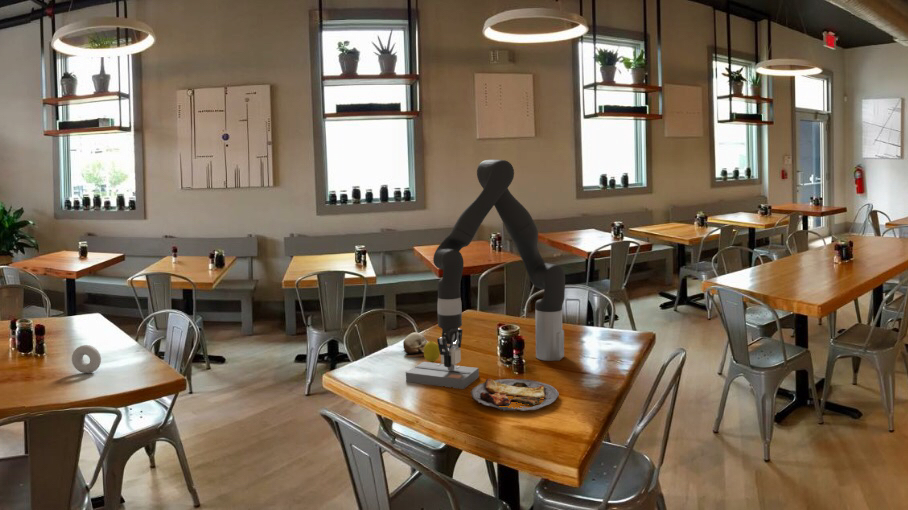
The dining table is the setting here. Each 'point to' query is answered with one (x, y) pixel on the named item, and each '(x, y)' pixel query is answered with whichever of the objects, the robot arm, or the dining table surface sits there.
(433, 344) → the lemon
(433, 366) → the slider console
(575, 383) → the dining table surface
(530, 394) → the food plate
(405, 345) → the skull
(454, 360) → the fader knob
